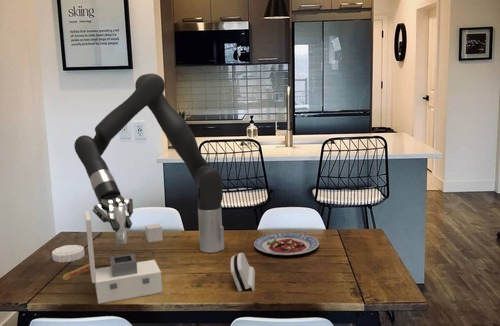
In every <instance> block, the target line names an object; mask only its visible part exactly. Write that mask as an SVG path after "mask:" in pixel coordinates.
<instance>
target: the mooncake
mask: <svg viewBox="0 0 500 326" xmlns="http://www.w3.org/2000/svg"><path fill="white" fill-rule="evenodd" d="M51 257H52V261H54V262H56V263H70V262H74V261H78V260H80V259H82V258H83V257H85V247H84V246H82V245H80V244H79V245H78V244H67V245H62V246H59V247H57V248H55V249H53V250H52V251H51Z"/></svg>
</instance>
